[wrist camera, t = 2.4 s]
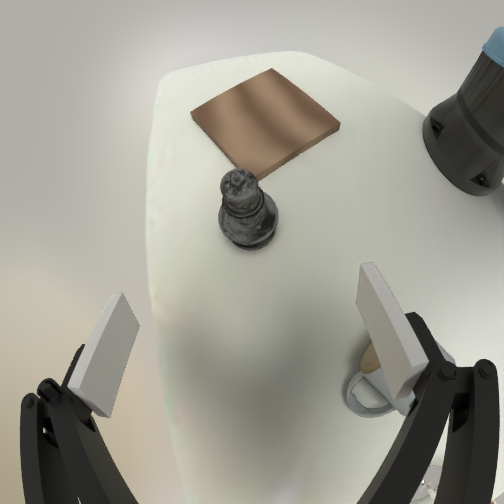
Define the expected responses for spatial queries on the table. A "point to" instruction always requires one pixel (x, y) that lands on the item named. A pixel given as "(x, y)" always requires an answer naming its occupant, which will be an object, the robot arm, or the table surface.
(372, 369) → the ceramic mug
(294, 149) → the walnut board
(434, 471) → the wineglass
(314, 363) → the table surface
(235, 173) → the weathered metal finial
